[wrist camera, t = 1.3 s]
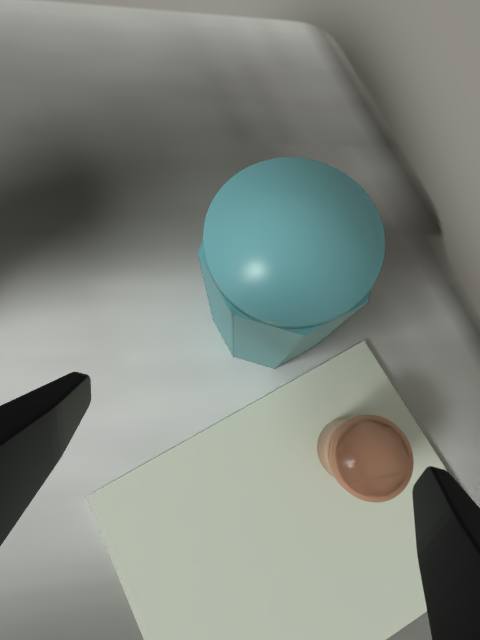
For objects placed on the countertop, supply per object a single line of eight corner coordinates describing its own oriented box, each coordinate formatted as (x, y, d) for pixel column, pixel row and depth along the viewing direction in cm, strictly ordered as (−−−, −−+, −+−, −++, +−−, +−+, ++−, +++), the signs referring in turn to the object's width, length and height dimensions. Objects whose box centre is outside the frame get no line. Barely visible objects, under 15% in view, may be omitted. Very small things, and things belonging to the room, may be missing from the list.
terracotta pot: (336, 499, 21) (360, 519, 17) (301, 434, 22) (315, 440, 18) (394, 463, 21) (429, 474, 17) (357, 402, 22) (383, 400, 18)
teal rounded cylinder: (247, 383, 23) (259, 359, 12) (199, 295, 24) (171, 201, 13) (337, 334, 23) (422, 270, 13) (285, 251, 25) (324, 131, 14)
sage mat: (198, 763, 18) (197, 771, 18) (88, 495, 21) (85, 496, 20) (497, 555, 20) (502, 557, 20) (361, 341, 23) (364, 340, 23)
